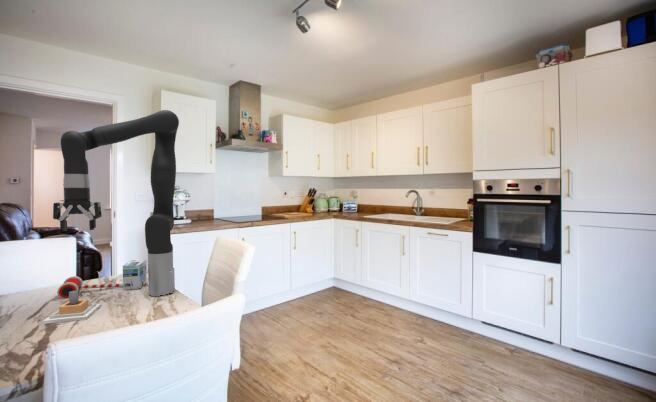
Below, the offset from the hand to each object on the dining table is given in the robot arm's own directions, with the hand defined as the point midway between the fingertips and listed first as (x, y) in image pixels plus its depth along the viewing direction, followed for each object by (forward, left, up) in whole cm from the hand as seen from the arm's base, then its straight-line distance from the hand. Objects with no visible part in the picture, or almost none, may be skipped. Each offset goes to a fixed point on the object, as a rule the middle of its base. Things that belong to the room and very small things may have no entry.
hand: (78, 230), depth 116 cm
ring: (-2, +10, -27) cm, 29 cm away
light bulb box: (-13, -19, -28) cm, 37 cm away
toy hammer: (+4, -17, -29) cm, 33 cm away
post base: (-2, +10, -28) cm, 30 cm away
